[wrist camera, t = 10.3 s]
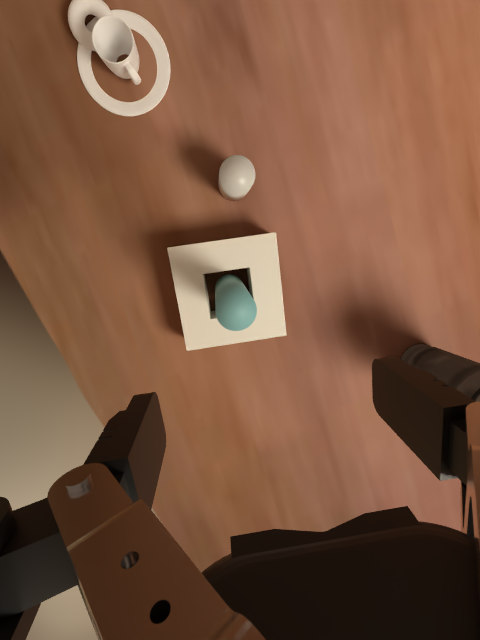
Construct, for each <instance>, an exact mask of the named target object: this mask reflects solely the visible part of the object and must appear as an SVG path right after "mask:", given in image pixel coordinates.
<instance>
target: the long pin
mask: <svg viewBox="0 0 480 640" xmlns="http://www.w3.org/2000/svg"><path fill="white" fill-rule="evenodd" d="M215 312H216V317H217V320H218V322H219V323H220V324H221V325H222V326H223V327H224V328H226V329H228V330H231V331H241V330H244V329H246V328H248V327H249V326H250V325H251V324H252V323H253V322H254V320H255V318H256V314H257V307H256V303H255V301H254V299H253V298H252V296H251V295H250V293H249V292H248V290H247V289H246V287H245V285H244V284H243V282H242V281H241V279H240V278H239V277H238V276H236V275H233V274H225V275H223V276H221V277H220V278H219V279H218V280H217V282H216V285H215Z"/></svg>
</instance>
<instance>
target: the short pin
mask: <svg viewBox="0 0 480 640" xmlns="http://www.w3.org/2000/svg"><path fill="white" fill-rule="evenodd" d="M254 180H255V169H254V167H253V165H252V163H251V162H250V161H249V160H248V159H247V158H246V157H244V156H241V155H233V156H230V157H228V158H227V159H225V160H224V162H223V163H222V165H221V167H220V170H219V182H218V186H219V191H220V193H221V194H222V196H223V197H224V198H226V199H227V200H230V201H238V200H241V199H242V198H243V197H245V195H246V194H247V193H248V191H249V190H250V188H251V187H252V185H253V183H254Z"/></svg>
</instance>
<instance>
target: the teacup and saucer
mask: <svg viewBox="0 0 480 640" xmlns="http://www.w3.org/2000/svg"><path fill="white" fill-rule="evenodd" d="M90 14H92V15H94V16H96V17H94V18H93V19H92V20H91V21H90V22H89V23H88V24H87V26H85V18H86V16H88V15H90ZM68 23H69V26H70V29H71V31H72V33H73V35H74V37H75V38H76V40H77V41H78V42H79V43H78V49H77V63H78V69H79V73H80V77H81V79H82V82H83V84H84V86H85V88H86V89H87V91H88V92H89V94H90V95H91V96H92V98H93V99H94V100H95V101H96V102H97V103H98V104H99V105H101V106H102V107H103V108H105V109H106V110H108V111H110V112H112V113H115V114H118V115H122V116H137V115H141V114H144V113H146V112H148V111H150V110H151V109H153V108H154V107H155V106H156V105H157V104H158V103H159V102H160V101H161V99H162V98H163V96H164V95H165V93H166V90H167V88H168V84H169V80H170V59H169V54H168V51H167V48H166V45H165V43H164V41H163V39H162V37H161V36H160V34H159V33H158V31H157V30H156V29H155V28H154V27H153V25H152V24H150V23H149V22H148V21H147V20H146V19H144V18H143V17H141V16H140V15H138V14H136V13H133V12H130V11H126V10H110V9H109V7H108V6H107V5H106V3H105V2H104V1H102V0H72V1H71V3H70V5H69V9H68ZM130 29H133V30H135V31H137V32H138V33H140V34H141V35H142V36H143V37H144V38H145V39H146V40H147V41H148V42H149V44H150V45H151V47H152V49H153V51H154V53H155V56H156V60H157V78H156V82H155V84H154V86H153V88H152V90H151V91H150V92H149V94H148V95H147V96H145V97H144V98H143V99H141V100H139V101H135V102H121V101H118V100H115V99H113V98H111V97H110V96H108V95H107V94H106V93H105V92H104V91H103V90H102V89H101V88H100V86H99V85H98V83H97V82H96V80H95V77H94V75H93V72H92V67H91V52H92V51H95V52H97V53H98V55H99V56H100V58H101V59H102V60H103V62H104V63H105V64H106V66H107V67H108V68H109V69H110V70H111V71H112V72H113V73H114V74H115V75H117V76H119V77H120V78H123V79H132V81H133V83H134V84H135V85H138V84H140V83H141V79H140V77H139V75H138V73H137V72H138V69H139V55H138V51H137V47H136V44H135V40H134V37H133V34H132V32H131V30H130ZM122 54H127V55H129V56H128V57H127V58H126V59H125V60H123V61H121V62H117V59H118V57H119V56H120V55H122Z"/></svg>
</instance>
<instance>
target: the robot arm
mask: <svg viewBox="0 0 480 640" xmlns="http://www.w3.org/2000/svg"><path fill="white" fill-rule="evenodd" d="M372 388H373V403H374V406H375V409H376V411H377V413H378V414H379V416H380V417H381V418H382V419H383V420H384V421H385V422H386V423H387V424H388V425H389V426H390V427H391V429H392V430H393V431H394V432H395V433H396V434H397V435H398V436H399V437H400V438H401V439H402V440H403V441H404V443H405V444H406V445H407V446H408V447H409V448H410V449H411V450H412V451H413V452H414V453H415V454H416V455H417V456H418V458H419V459H420V460H421V461H422V462H423V463H424V464H425V465H426V466H427V467H428V468H429V469H430V470H431V472H432V473H433V474H434V475H435V476H436V477H437V478H438V479H439V480H440V481H442V480H448V479H454V478H459V479H460V480H461V488H460V501H461V531H458V530H455V529H452V528H449V527H446V526H442V525H438V524H433V523H427V522H418V520H417V519H416V517H415V516H414V515H413V513H412V512H411V510H410V509H409V508H408V506H405V507H399V508H393V509H388V510H382V511H376V512H370V513H365V514H362V515H360V516H358V517H356V518H354V519H352V520H350V521H347V522H345V523H343V524H341V525H339V526H337V527H335V528H332V529H330V530H328V531H325V532H312V531H296V530H281V529H272V530H266V531H261V532H255V533H249V534H243V535H237V536H232V537H230V538H231V554H229V555H227V556H225V557H223V558H221V559H220V560H218V561H216V562H215V563H213V564H212V565H211V566H209V567H208V568H207V569H205V570H204V571H203V572H202V573H201V572H200V571H199V569H198V568H197V567H196V566H195V564H194V563H193V562H192V561H191V559H190V558H189V557H188V556H187V554H186V553H185V552H184V551H183V549H182V548H181V547H180V546H179V544H178V543H177V542H176V541H175V539H174V538H173V537H172V536H171V534H170V533H169V532H168V531H167V529H166V528H165V527H164V526H163V524H162V523H161V522H160V521H159V519H158V518H157V517H156V516H155V514H154V513H153V512H152V511H151V508H152V504H153V500H154V495H155V491H156V487H157V482H158V478H159V474H160V470H161V465H162V461H163V457H164V453H165V448H166V433H165V428H164V423H163V418H162V414H161V409H160V404H159V400H158V396H157V394H156V393H155V392H152V393H146V394H139V395H134V396H133V398H132V400H131V402H130V403H129V405H128V407H127V409H126V410H125V411H119V412H118V413H117V414H116V415H115V416H114V417H112V418H111V419H110V420H109V421H108V423H107V425H106V426H105V428H104V430H103V432H102V433H101V435H100V437H99V440H98V441H97V442H96V444H95V446H94V447H93V449H92V451H91V452H90V454H89V456H88V457H87V459H86V461H85V463H84V464H83V465H82V466H79V467H77V468H74V469H72V470H71V471H69V472H67V473H66V474H64V475H63V476H61V477H60V478H59V479H58V480H57V481H56V482H55V483H54V484H53V485H52V486H51V488H50V490H49V492H48V497H47V498H45V499H43V500H40V501H38V502H35V503H32V504H30V505H27V506H25V507H22V508H20V509H17V510H14V511H12V508H11V506H10V503H9V501H8V500H7V499H6V498H4V497H0V640H26V637H27V635H28V632H29V630H30V628H31V625H32V623H33V621H34V618H35V616H36V614H37V611H38V609H39V607H40V604H41V602H43V601H45V600H47V599H49V598H51V597H53V596H55V595H57V594H59V593H61V592H64V591H66V590H68V589H70V588H72V587H74V586H76V585H78V587H79V590H80V593H81V595H82V598H83V600H84V603H85V606H86V608H87V611H88V614H89V616H90V619H91V622H92V624H93V627H94V630H95V632H96V635H97V638H98V640H480V401H478V402H476V401H474V400H472V399H471V398H469V397H468V396H466V395H464V394H463V393H461V392H460V391H458V390H456V389H455V388H453V387H452V386H448V384H447V383H445V382H444V381H442V380H439V378H437V377H436V376H434V375H432V374H431V373H429V372H427V371H424V370H421V369H418V368H415V367H412V366H411V365H409V364H407V363H406V362H404V361H403V360H401V359H400V358H398V357H396V356H393V357H386V358H380V359H375V360H374V361H373V363H372Z"/></svg>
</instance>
